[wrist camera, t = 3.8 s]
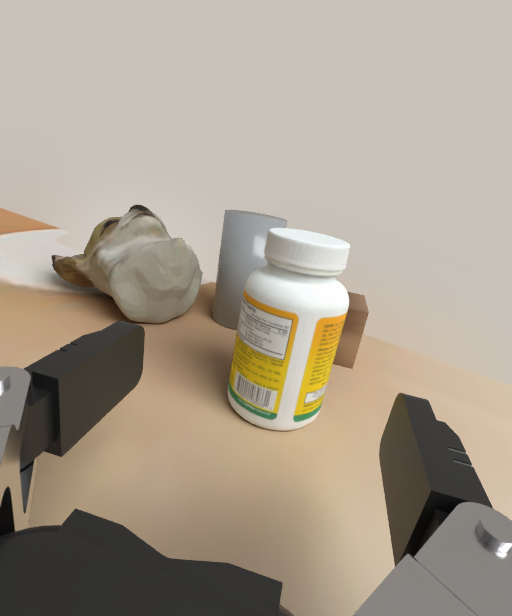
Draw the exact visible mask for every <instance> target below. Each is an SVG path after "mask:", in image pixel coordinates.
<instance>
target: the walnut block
mask: <svg viewBox="0 0 512 616" xmlns="http://www.w3.org/2000/svg"><path fill="white" fill-rule="evenodd" d="M347 293H348V296H349V307H348V311H347V315H346V318H345V322H344V325H343V329H342V332H341V336H340V339H339V343H338V347H337V350H336V354H335V357H334V361H333V364H335V365H339V366H343V367H347V368H351V369H352V368H353V365H354V361H355V358H356V354H357V351H358V348H359V344H360V341H361V337H362V334H363V330H364V326H365V323H366V320H367V316H368V309H367V305H366V301H365V297H364V295H360V294H355V293H350V292H347Z"/></svg>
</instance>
